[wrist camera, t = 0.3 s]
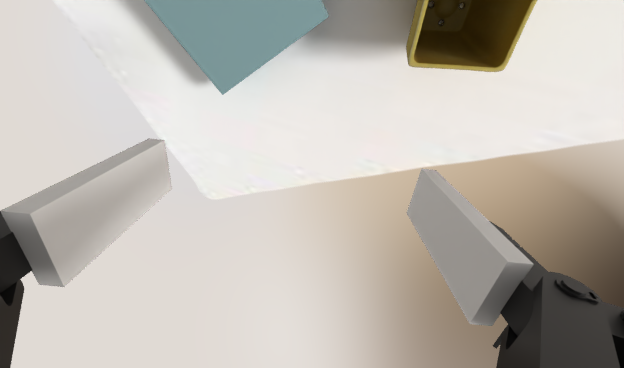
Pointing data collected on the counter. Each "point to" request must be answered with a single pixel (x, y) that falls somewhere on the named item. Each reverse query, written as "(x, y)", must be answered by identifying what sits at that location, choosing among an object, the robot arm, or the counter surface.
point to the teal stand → (237, 32)
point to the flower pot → (466, 33)
